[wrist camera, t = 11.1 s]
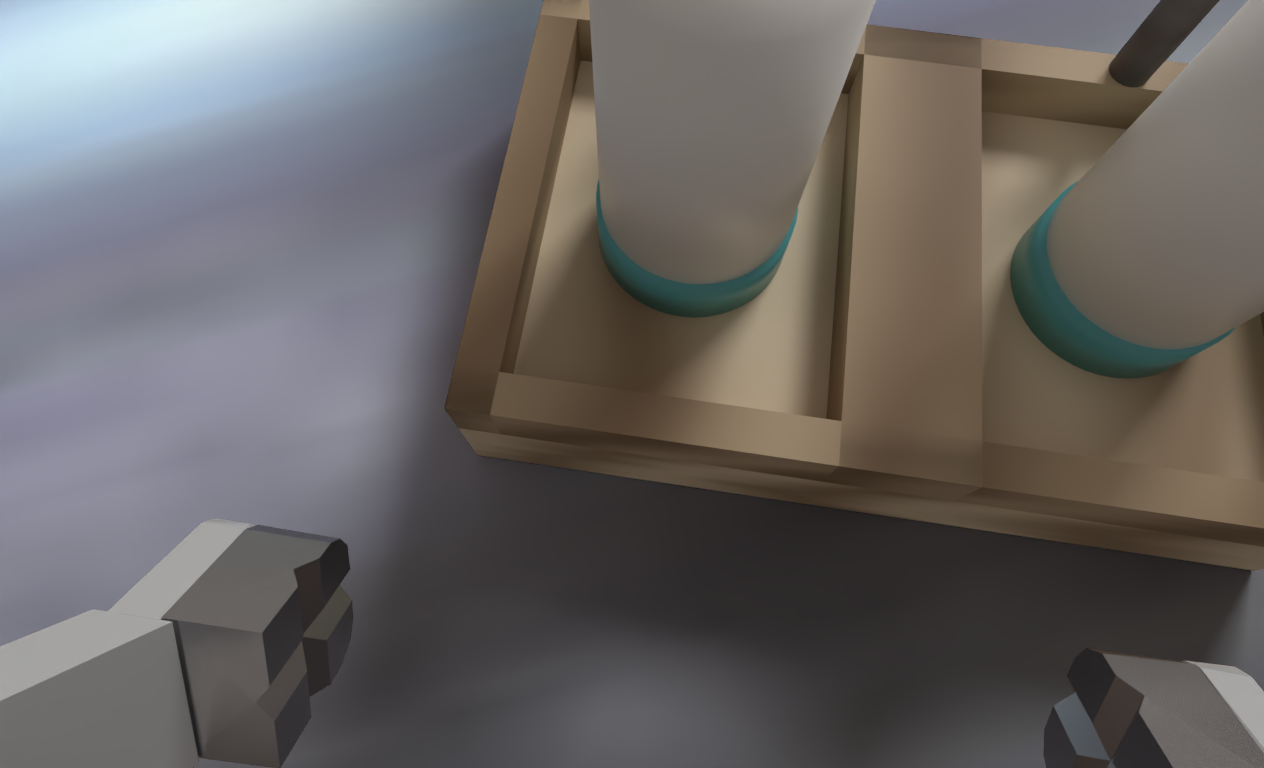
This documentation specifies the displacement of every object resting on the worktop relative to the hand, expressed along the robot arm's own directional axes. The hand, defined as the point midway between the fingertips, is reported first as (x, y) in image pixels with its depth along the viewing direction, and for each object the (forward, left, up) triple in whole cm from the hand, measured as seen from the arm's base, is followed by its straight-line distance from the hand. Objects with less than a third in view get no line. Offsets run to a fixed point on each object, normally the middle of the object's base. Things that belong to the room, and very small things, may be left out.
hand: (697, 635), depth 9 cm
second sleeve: (+10, +10, -8) cm, 16 cm away
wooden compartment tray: (+5, +10, -11) cm, 15 cm away
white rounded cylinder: (-1, +10, -8) cm, 13 cm away
